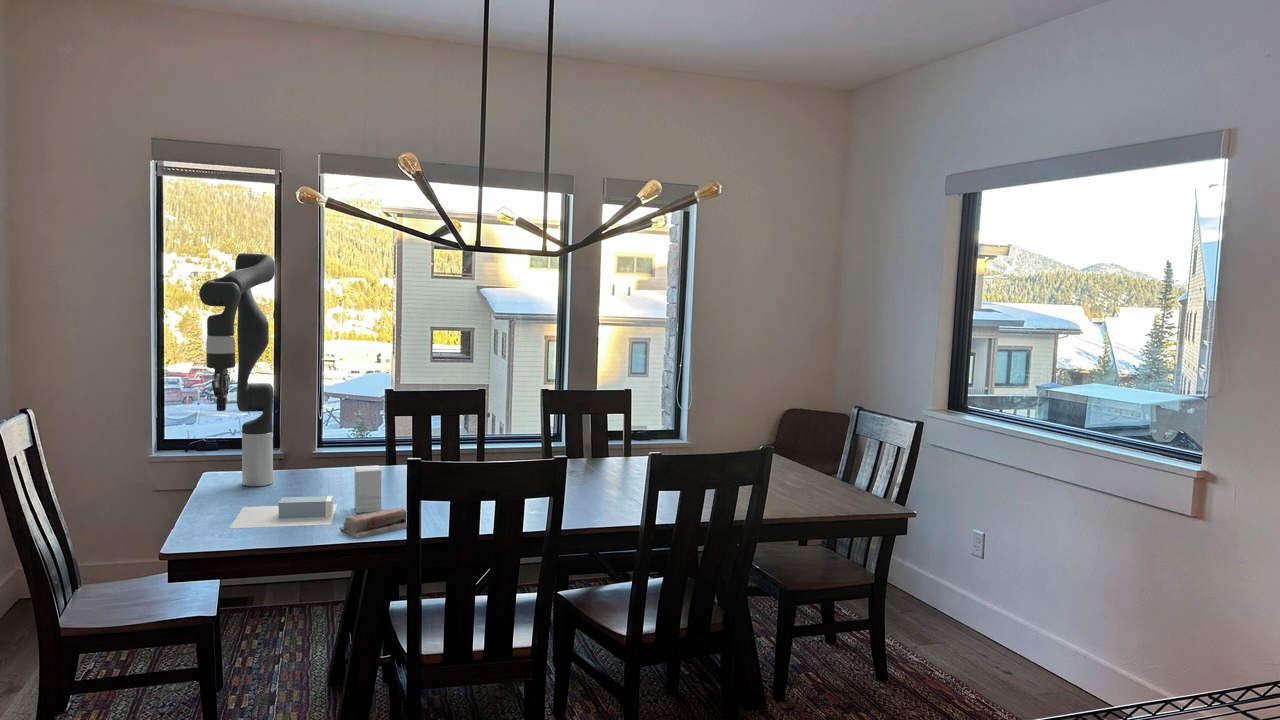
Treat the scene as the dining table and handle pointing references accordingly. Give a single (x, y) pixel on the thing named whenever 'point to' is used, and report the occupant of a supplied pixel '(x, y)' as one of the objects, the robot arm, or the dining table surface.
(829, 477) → the dining table surface
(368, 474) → the supplement box
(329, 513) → the block
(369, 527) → the packaged product
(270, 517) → the mat
